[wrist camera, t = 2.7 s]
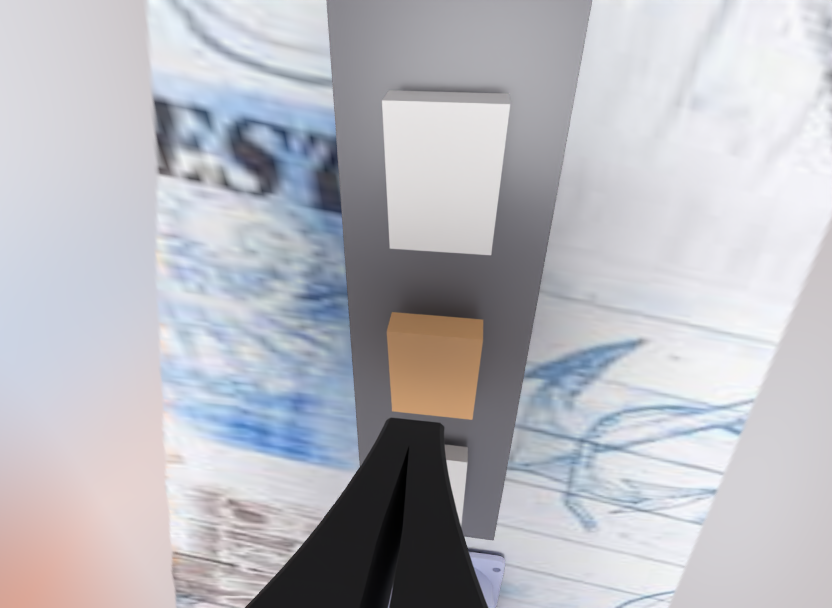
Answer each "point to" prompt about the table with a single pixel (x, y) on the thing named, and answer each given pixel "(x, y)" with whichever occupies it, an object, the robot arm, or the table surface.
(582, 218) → the table surface
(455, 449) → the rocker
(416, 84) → the power strip
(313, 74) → the table surface
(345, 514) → the robot arm
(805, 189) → the table surface
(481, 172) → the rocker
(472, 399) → the peach rectangular tile
